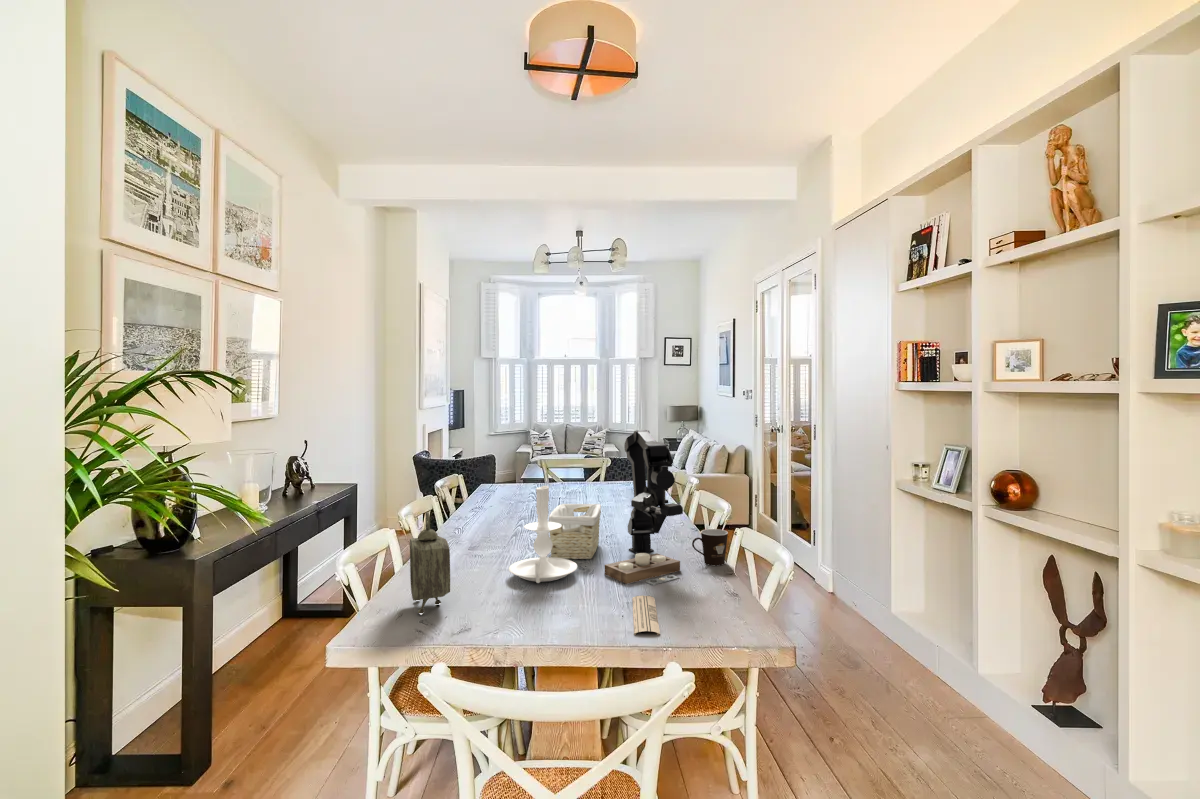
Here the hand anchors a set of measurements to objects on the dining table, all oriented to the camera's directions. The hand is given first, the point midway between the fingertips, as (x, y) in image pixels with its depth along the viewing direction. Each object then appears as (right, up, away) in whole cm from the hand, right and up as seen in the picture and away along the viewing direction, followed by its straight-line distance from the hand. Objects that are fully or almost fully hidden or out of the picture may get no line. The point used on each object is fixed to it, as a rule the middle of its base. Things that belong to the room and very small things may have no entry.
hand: (656, 533), depth 191 cm
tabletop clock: (-62, -13, -32) cm, 71 cm away
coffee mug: (+18, -11, +5) cm, 22 cm away
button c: (+1, -11, -1) cm, 11 cm away
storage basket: (-26, -11, +21) cm, 35 cm away
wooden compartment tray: (-5, -11, -5) cm, 13 cm away
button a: (-10, -11, -8) cm, 17 cm away
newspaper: (-6, -13, -39) cm, 42 cm away
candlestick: (-35, -12, -10) cm, 38 cm away
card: (+1, -11, -12) cm, 16 cm away
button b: (-5, -9, -5) cm, 11 cm away
